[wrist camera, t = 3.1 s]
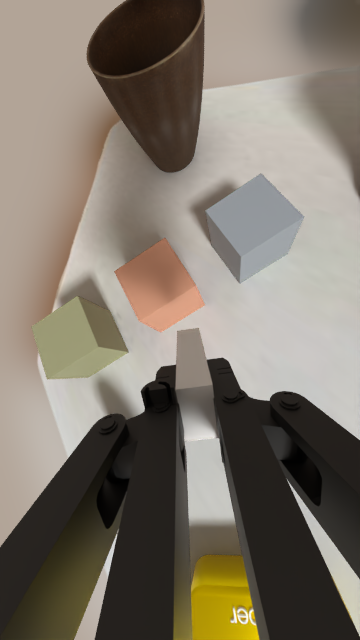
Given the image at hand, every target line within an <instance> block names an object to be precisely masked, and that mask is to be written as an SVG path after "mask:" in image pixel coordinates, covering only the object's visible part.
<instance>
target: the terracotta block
mask: <svg viewBox="0 0 360 640" xmlns="http://www.w3.org/2000/svg"><path fill="white" fill-rule="evenodd" d="M114 272H115V274H116V276H117V278H118V280H119V282H120V284H121V286H122V288H123V290H124V292H125V294H126V296H127V298H128V300H129V302H130V304H131V306H132V308H133V310H134V312H135V314H136V316H137V318H138V320H139V321H140V322H142V323H144V324H146V325H147V326H149V327H151V328H153V329H155V330H157V331H159V332H162V331H164V330H165V329H167V328H169V327H170V326H172V325H174V324H175V323H177V322H178V321H180V320H182V319H183V318H185V317H186V316H188V315H190V314H191V313H193V312H195V311H196V310H198V309H199V308H201V307H203V306H204V305H205V304H204V302H203V300H202V298H201V295H200V293H199V291H198V289H197V287H196V285H195V283H194V282H193V280H192V278H191V277H190V275H189V274H188V272H187V271H186V269H185V268H184V266H183V265H182V263H181V261H180V260H179V258H178V257H177V255H176V254H175V252H174V251H173V249H172V248H171V246H170V244H169V243H168V241H167V240H166V238H164V239H162V240H161V241H159V242H158V243H156V244H155V245H153V246H152V247H150V248H149V249H147V250H146V251H144V252H143V253H141V254H140V255H138V256H137V257H135V258H134V259H132V260H131V261H129V262H128V263H126V264H125V265H123V266H122V267H120V268H119V269H117V270H116V271H114Z"/></svg>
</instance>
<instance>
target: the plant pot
mask: <svg viewBox="0 0 360 640" xmlns="http://www.w3.org/2000/svg"><path fill="white" fill-rule="evenodd" d="M87 61H88V65H89V67H90V68H91V70H92V72H93V74H94V75H95V77H96V79H97V80H98V82H99V84H100V85H101V87H102V89H103V90H104V92H105V94H106V96H107V97H108V99H109V101H110V102H111V104H112V105H113V107H114V109H115V110H116V112H117V113H118V115H119V116H120V118H121V119H122V121H123V122H124V124H125V125H126V127H127V128H128V130H129V131H130V133H131V134H132V135H133V137H134V138H135V140H136V141H137V142H138V144H139V145H140V146H141V147H142V149H143V150H144V151H145V152H146V154H147V155H148V156H149V157H150V158H151V159H152V161H153V162H154V163H155V164H156V165H157V166H158V167H159V168H160V169H161V170H162V171H165V172H176V171H179V170H182V169H183V168H185V167H186V166H187V165H188V164H189V163H190V162H191V161H192V159H193V157H194V153H195V147H196V142H197V136H198V129H199V121H200V112H201V102H202V87H203V69H204V0H126V1H125V2H123V3H122V4H120V5H119V6H118V7H117V8H115V9H114V10H113V11H112V12H111V13H110V14H109V15H108V16H107V17H106V18H105V19H104V20H103V21H102V22H101V23H100V24H99V26H98V27H97V28H96V30H95V32H94V33H93V35H92V37H91V39H90V41H89V44H88V48H87Z"/></svg>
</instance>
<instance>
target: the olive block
mask: <svg viewBox="0 0 360 640" xmlns="http://www.w3.org/2000/svg"><path fill="white" fill-rule="evenodd" d="M31 328H32V331H33V334H34V337H35V341H36V343H37V347H38V351H39V354H40V357H41V361H42V364H43V367H44V371H45V374H46V377H47V379H66V378H88V377H90V376H91V375H93V374H95V373H96V372H98V371H99V370H101V369H103V368H104V367H106V366H107V365H109V364H111V363H112V362H114V361H115V360H117V359H119V358H120V357H122V356H124V355H125V354H127V353H128V349H127V347H126V345H125V343H124V341H123V338H122V336H121V334H120V332H119V330H118V328H117V325H116V323H115V321H114V319H113V317H112V314H111V312H110V311H108V310H106V309H104V308H102V307H100V306H98V305H96V304H94V303H92V302H89V301H87V300H85V299H83V298H81V297H79V296H77V297H75V298H74V299H72V300H71V301H69V302H68V303H66V304H65V305H63V306H62V307H60V308H59V309H57V310H56V311H54V312H53V313H51V314H50V315H48V316H47V317H46V318H44V319H42V320H41V321H39V322H38V323H36V324H35V325H33V326H32V327H31Z"/></svg>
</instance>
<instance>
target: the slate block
mask: <svg viewBox="0 0 360 640" xmlns="http://www.w3.org/2000/svg"><path fill="white" fill-rule="evenodd" d="M205 212H206V218H207V223H208V229H209V234H210V239H211V245H212V247H213V248H214V249H215V251H216V252H217V253H218V255H219V256H220V258H221V259H222V260H223V262H224V263H225V264H226V266H227V267H228V268H229V270H230V271H231V273H232V274H233V275H234V277H235V278H236V279H237V281H238V282H239V283H241V282H243V281H245V280H246V279H248V278H249V277H251V276H253V275H254V274H256V273H257V272H259V271H261V270H262V269H264V268H266V267H267V266H269V265H270V264H272V263H274V262H275V261H277V260H278V259H280V258H282V257H283V256H285V255H287V254H288V252H289V249H290V247H291V245H292V243H293V241H294V238H295V236H296V234H297V232H298V229H299V227H300V225H301V223H302V221H303V218H304V216H303V215H302V214H301V213H300V212H299V211H298V210H297V209H296V208H295V207H294V206H293V205H292V204H291V203H290V202H289V201H288V200H287V199H286V198H285V197H284V196H283V195H282V194H281V193H280V192H279V191H278V190H277V189H276V188H275V187H274V186H273V185H272V184H271V183H270V182H269V181H268V180H267V179H266V178H265V177H264V176H263V175H262V174H259V175H258V176H256V177H255V178H253V179H252V180H250V181H249V182H247V183H246V184H244V185H243V186H241V187H240V188H238V189H237V190H235V191H234V192H232V193H231V194H229V195H228V196H226V197H225V198H223V199H222V200H220V201H219V202H217V203H216V204H214V205H213V206H211V207H210V208H209V209H207V210H206V211H205Z"/></svg>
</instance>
